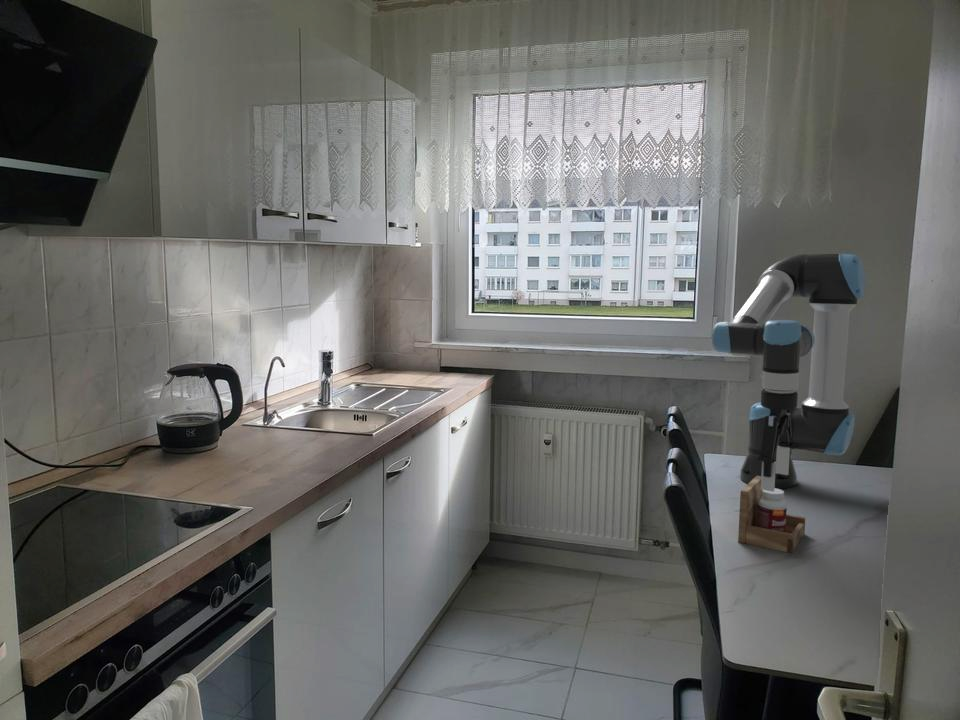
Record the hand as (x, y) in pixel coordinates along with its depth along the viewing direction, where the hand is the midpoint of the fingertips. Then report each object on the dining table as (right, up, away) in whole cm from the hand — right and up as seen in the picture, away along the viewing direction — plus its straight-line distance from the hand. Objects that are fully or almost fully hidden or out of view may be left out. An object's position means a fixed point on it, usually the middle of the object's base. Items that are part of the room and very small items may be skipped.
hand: (774, 481), depth 163 cm
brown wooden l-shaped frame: (0, -13, +1) cm, 13 cm away
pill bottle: (0, -13, +2) cm, 13 cm away
